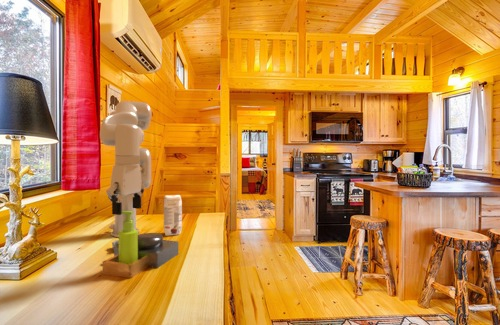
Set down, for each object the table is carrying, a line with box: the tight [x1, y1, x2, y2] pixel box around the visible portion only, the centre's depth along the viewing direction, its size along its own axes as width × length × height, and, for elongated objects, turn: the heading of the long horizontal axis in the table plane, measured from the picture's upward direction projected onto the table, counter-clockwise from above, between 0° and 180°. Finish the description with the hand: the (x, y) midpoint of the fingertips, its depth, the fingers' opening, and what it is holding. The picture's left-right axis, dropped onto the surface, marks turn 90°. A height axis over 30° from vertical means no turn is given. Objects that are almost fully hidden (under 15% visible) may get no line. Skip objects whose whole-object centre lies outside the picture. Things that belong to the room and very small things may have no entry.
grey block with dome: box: [102, 232, 179, 279], centre depth 98 cm, size 18×23×8 cm
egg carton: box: [111, 239, 119, 251], centre depth 113 cm, size 11×8×4 cm
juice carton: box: [163, 194, 183, 237], centre depth 134 cm, size 8×9×19 cm
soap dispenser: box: [118, 211, 139, 264], centre depth 92 cm, size 6×7×20 cm
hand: (127, 211), depth 92 cm, fingers open, 9 cm apart
